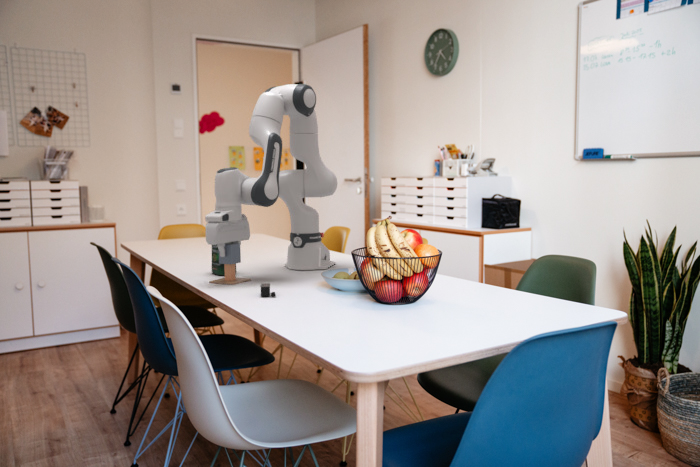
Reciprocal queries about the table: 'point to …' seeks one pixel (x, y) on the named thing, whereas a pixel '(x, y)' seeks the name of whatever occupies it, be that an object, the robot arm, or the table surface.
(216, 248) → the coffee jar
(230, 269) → the marker post
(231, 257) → the grey block
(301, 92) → the robot arm
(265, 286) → the wireless earbuds
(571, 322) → the table surface
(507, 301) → the table surface
